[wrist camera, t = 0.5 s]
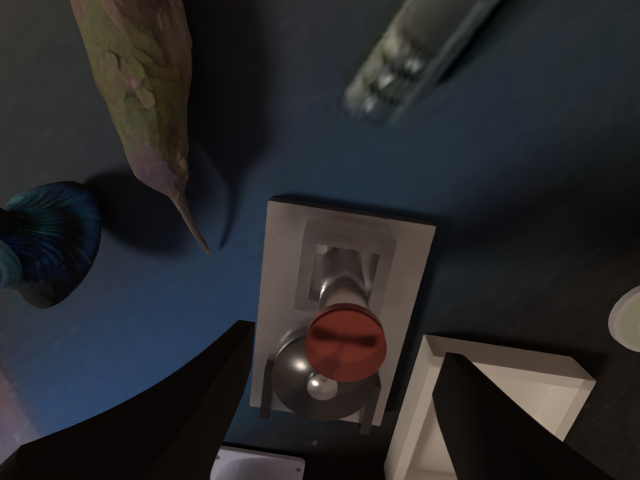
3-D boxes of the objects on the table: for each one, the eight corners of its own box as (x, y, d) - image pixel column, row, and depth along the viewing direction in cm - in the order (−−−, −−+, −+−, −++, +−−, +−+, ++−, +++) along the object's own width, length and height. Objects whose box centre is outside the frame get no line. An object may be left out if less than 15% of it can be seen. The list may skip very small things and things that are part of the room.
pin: (362, 293, 20) (377, 387, 13) (313, 285, 20) (299, 375, 13) (372, 247, 19) (395, 321, 12) (320, 239, 19) (310, 307, 12)
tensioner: (377, 412, 25) (383, 448, 22) (253, 393, 25) (243, 426, 22) (430, 220, 20) (446, 236, 17) (272, 196, 20) (261, 207, 17)
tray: (505, 484, 27) (520, 516, 25) (383, 466, 27) (387, 495, 25) (571, 356, 22) (596, 381, 20) (424, 334, 22) (433, 356, 20)
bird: (24, -299, 13) (-150, -538, 8) (141, -325, 13) (26, -592, 8) (171, 253, 21) (124, 288, 17) (245, 248, 21) (219, 282, 16)
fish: (87, 109, 18) (-175, 88, 9) (142, 265, 22) (-8, 370, 12) (21, 120, 19) (-296, 111, 9) (85, 272, 22) (-103, 378, 13)
